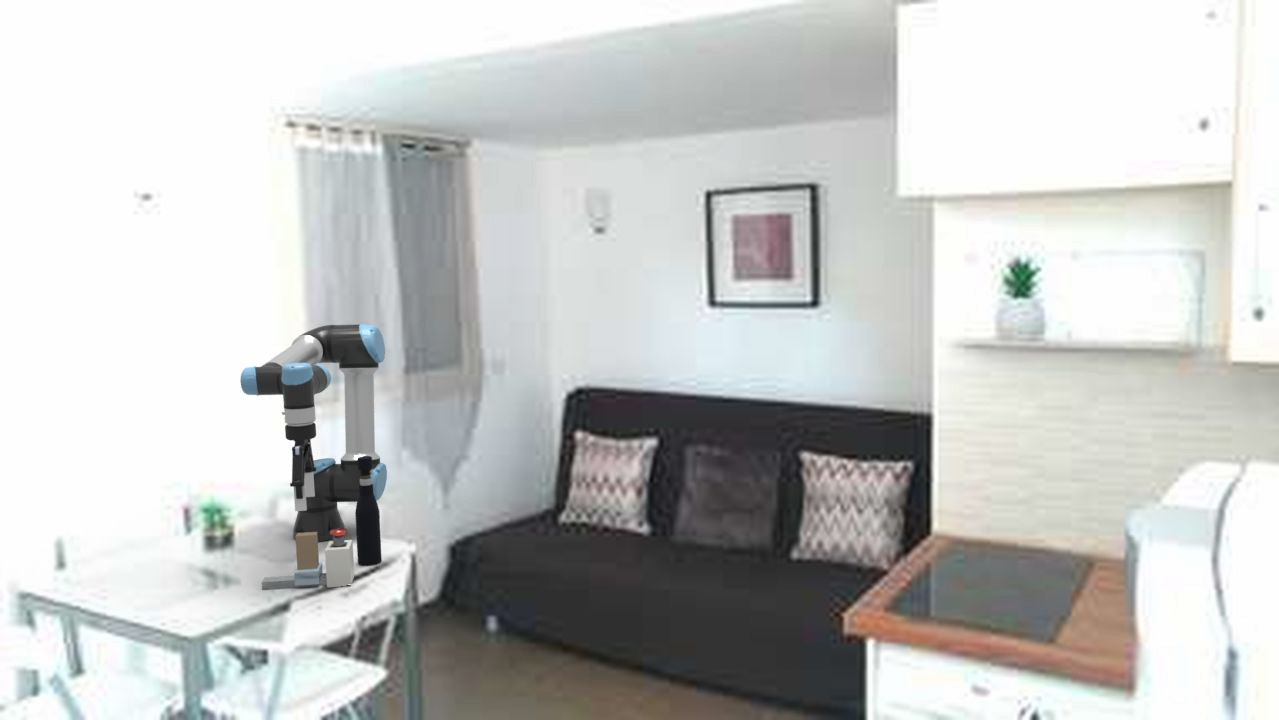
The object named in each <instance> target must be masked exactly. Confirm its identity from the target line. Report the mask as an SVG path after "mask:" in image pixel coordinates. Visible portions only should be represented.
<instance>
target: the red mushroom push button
mask: <svg viewBox="0 0 1279 720" xmlns="http://www.w3.org/2000/svg"><path fill="white" fill-rule="evenodd" d="M346 534H347V528H345V527H344V528H335V529H332V530H330V535H331V536H333V539H332V541H333V547H345V544H344V540H345V535H346Z"/></svg>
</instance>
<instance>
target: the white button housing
mask: <svg viewBox="0 0 1279 720" xmlns="http://www.w3.org/2000/svg"><path fill="white" fill-rule="evenodd" d="M353 542H354V541H353V539H346V540H345V539H344V544H345V547H333V540H328V543H327V545H326V548H325V550H324V556H325V558H324V559H325V573H326V578H327V585H326V588H328V589H329V588H342V587H341V586H343V587H346V586H345V585H348V584H351V583H352V584H353V581H354V578H355V565H354V564H355V561H354V545H353V544H354V543H353ZM352 584H351V585H352Z"/></svg>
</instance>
